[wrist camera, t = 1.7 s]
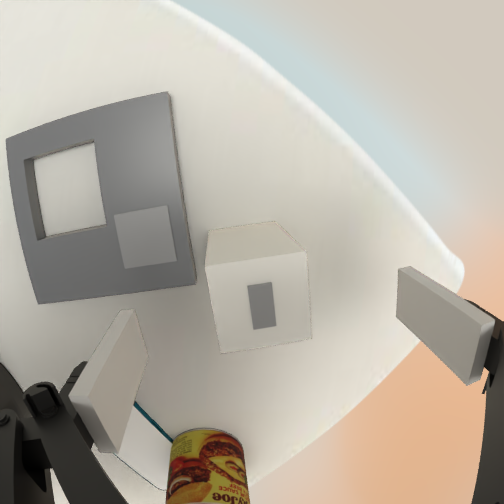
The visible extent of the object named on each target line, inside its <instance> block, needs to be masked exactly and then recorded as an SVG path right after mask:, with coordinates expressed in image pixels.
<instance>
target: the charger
mask: <svg viewBox="0 0 504 504" xmlns="http://www.w3.org/2000/svg"><path fill="white" fill-rule="evenodd" d="M205 272H206V277H207V283H208V289H209V294H210V300H211V305H212V310H213V316H214V321H215V326H216V331H217V336H218V341H219V346H220V351H221V354H224V353H231V352H238V351H244V350H251V349H257V348H263V347H269V346H275V345H281V344H286V343H292V342H297V341H302V340H308V339H312V330H311V311H310V294H309V279H308V265H307V252H306V250H305V249H304V248H303V247H302V246H301V245H300V244H299V243H297V242H296V241H295V240H294V239H293V238H292V237H291V236H290V235H289V234H288V233H287V232H286V231H285V230H284V229H283V228H282V227H281V226H280V225H279V224H277V223H276V222H275V221H272V222H265V223H257V224H250V225H243V226H236V227H229V228H222V229H216V230H209V234H208V242H207V250H206V258H205Z"/></svg>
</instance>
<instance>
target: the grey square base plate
mask: <svg viewBox="0 0 504 504" xmlns="http://www.w3.org/2000/svg"><path fill="white" fill-rule="evenodd" d="M91 142H94V145H95V153H96V161H97V169H98V176H99V183H100V189H101V195H102V201H103V207H104V212H105V218H106V223H107V224H106V225H100V226H95V227H90V228H85V229H80V230H75V231H70V232H65V233H60V234H56V235H51V236H45V232H44V227H43V222H42V217H41V211H40V206H39V200H38V194H37V188H36V181H35V173H34V165H33V160H34V159H37V158H40V157H43V156H46V155H49V154H53V153H56V152H59V151H62V150H66V149H69V148H73V147H76V146H80V145H83V144H87V143H91ZM6 150H7V161H8V170H9V178H10V186H11V193H12V199H13V205H14V211H15V216H16V221H17V226H18V231H19V236H20V240H21V245H22V249H23V253H24V257H25V261H26V265H27V268H28V272H29V276H30V279H31V283H32V286H33V289H34V293H35V296H36V299H37V302H38V304H46V303H55V302H64V301H72V300H81V299H89V298H97V297H105V296H113V295H121V294H128V293H136V292H144V291H151V290H159V289H166V288H173V287H180V286H188V285H195V284H196V280H197V275H196V270H195V264H194V259H193V253H192V247H191V242H190V236H189V230H188V224H187V217H186V211H185V205H184V198H183V191H182V185H181V178H180V171H179V163H178V156H177V148H176V141H175V133H174V124H173V116H172V107H171V98H170V95H169V93H168V92H161V93H156V94H151V95H147V96H142V97H137V98H133V99H129V100H124V101H120V102H116V103H112V104H108V105H105V106H101V107H97V108H94V109H90V110H87V111H83V112H80V113H77V114H73V115H70V116H67V117H64V118H61V119H58V120H55V121H52V122H49V123H46V124H43V125H41V126H38V127H35V128H32V129H30V130H27V131H25V132H22V133H19V134H17V135H14V136H12V137H10V138H7V139H6Z"/></svg>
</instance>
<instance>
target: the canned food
mask: <svg viewBox="0 0 504 504" xmlns="http://www.w3.org/2000/svg"><path fill="white" fill-rule="evenodd" d="M166 504H250V499H249V491H248V484H247V476H246V469H245V461H244V453H243V447H242V444H241V443H240V442H239V440H238V439H237V438H235V437H234V436H233V435H231V434H229V433H227V432H224V431H221V430H217V429H209V428H200V429H192V430H189V431H185V432H183V433H182V434H180V435H178V436H177V437H176V438H175V439H174V440H173V444H172V447H171V451H170V460H169V470H168V481H167V492H166Z"/></svg>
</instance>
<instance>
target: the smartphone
mask: <svg viewBox="0 0 504 504" xmlns="http://www.w3.org/2000/svg"><path fill="white" fill-rule="evenodd" d="M172 444H173V439H172V438H171V437H169V436H168V435H167V434H166V433H165V432H164V431H163V429H162V428H161V427H160V426H159V425H158V424H157V423H156V422H155V421H154V420H152V419H151V418H150V417H149V415H148V414H147V413H146V412H145V411H144V410H143V409H142V408H141V407H140V406H139V405H138V404H137V403H136V402H135V401H134V404H133V407H132V410H131V414H130V417H129V420H128V423H127V427H126V430H125V433H124V437H123V440H122V443H121V447H120V450H119V453H113V454H115V455H116V456H117V457H118V458H119V459H120V460H122V461H123V462H124V463H125V464H126V465H128V466H129V467H130V468H131V469H133V470H134V471H135V472H136V473H138V474H139V475H140V476H142V477H143V478H144V479H145V480H147V481H148V482H149V483H151V484H152V485H154V486H155V487H156V488H158V489H160V490H167V481H168V470H169V460H170V451H171V447H172Z"/></svg>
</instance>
